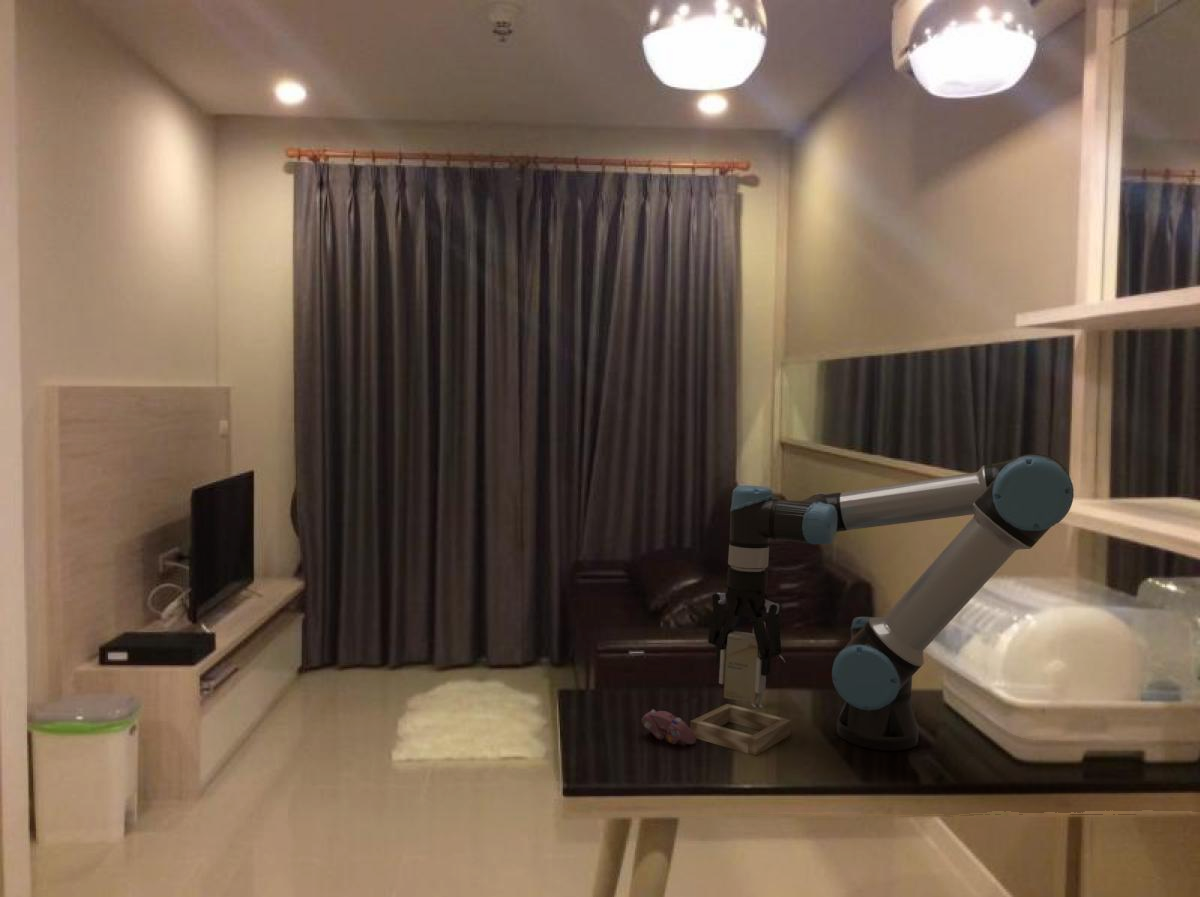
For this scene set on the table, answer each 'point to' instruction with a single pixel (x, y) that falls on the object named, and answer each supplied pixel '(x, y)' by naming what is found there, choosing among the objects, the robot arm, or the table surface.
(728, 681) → the skincare box
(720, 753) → the table surface
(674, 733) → the video game controller
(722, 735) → the frame
